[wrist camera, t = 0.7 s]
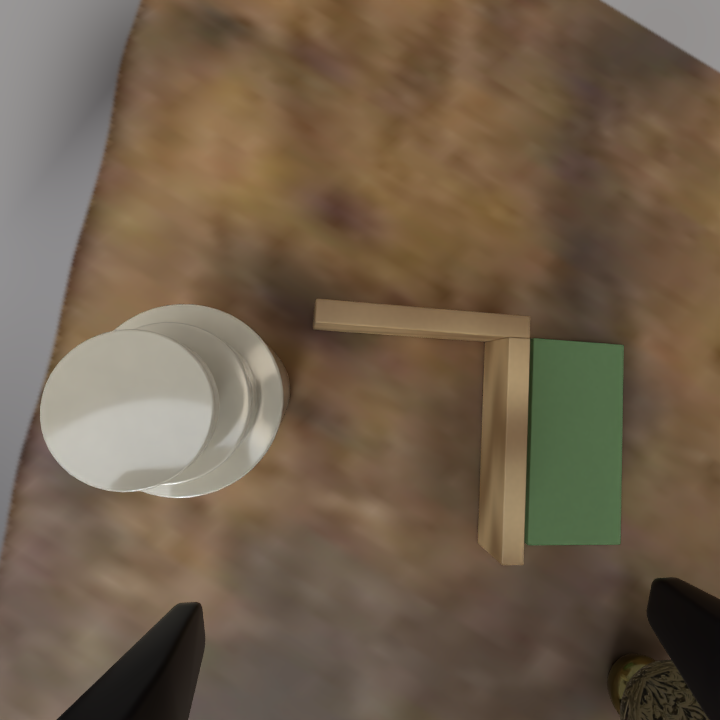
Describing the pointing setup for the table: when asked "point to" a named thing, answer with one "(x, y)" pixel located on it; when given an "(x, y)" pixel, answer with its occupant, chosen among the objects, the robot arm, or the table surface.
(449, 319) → the corner rails
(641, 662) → the cup
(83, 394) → the lidded jar
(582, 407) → the green cloth
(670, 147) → the table surface
